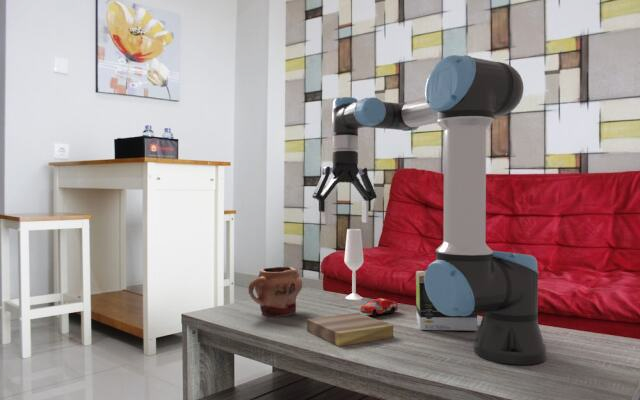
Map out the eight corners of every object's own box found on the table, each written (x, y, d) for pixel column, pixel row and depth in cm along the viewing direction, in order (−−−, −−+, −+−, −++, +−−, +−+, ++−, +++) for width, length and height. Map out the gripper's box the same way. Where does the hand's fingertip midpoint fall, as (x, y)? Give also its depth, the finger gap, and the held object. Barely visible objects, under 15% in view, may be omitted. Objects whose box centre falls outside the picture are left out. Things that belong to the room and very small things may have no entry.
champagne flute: (354, 301, 173) (354, 230, 173) (340, 298, 178) (340, 229, 178) (367, 298, 177) (367, 229, 177) (353, 295, 182) (353, 228, 182)
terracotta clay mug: (267, 325, 141) (267, 274, 140) (236, 318, 148) (236, 270, 148) (312, 312, 156) (312, 266, 156) (282, 306, 164) (282, 263, 164)
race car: (369, 317, 147) (369, 303, 147) (356, 313, 151) (356, 300, 151) (400, 312, 155) (401, 299, 155) (387, 309, 159) (388, 296, 159)
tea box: (470, 322, 143) (470, 270, 143) (477, 332, 133) (477, 275, 133) (415, 321, 145) (415, 269, 145) (419, 330, 135) (419, 274, 135)
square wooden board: (393, 337, 128) (393, 325, 128) (338, 346, 120) (338, 333, 120) (358, 323, 142) (358, 312, 142) (307, 330, 134) (307, 319, 134)
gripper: (374, 153, 160) (374, 221, 160) (301, 150, 150) (301, 223, 150) (387, 151, 153) (387, 222, 154) (312, 148, 143) (312, 224, 143)
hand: (345, 222), depth 152 cm, fingers open, 13 cm apart
